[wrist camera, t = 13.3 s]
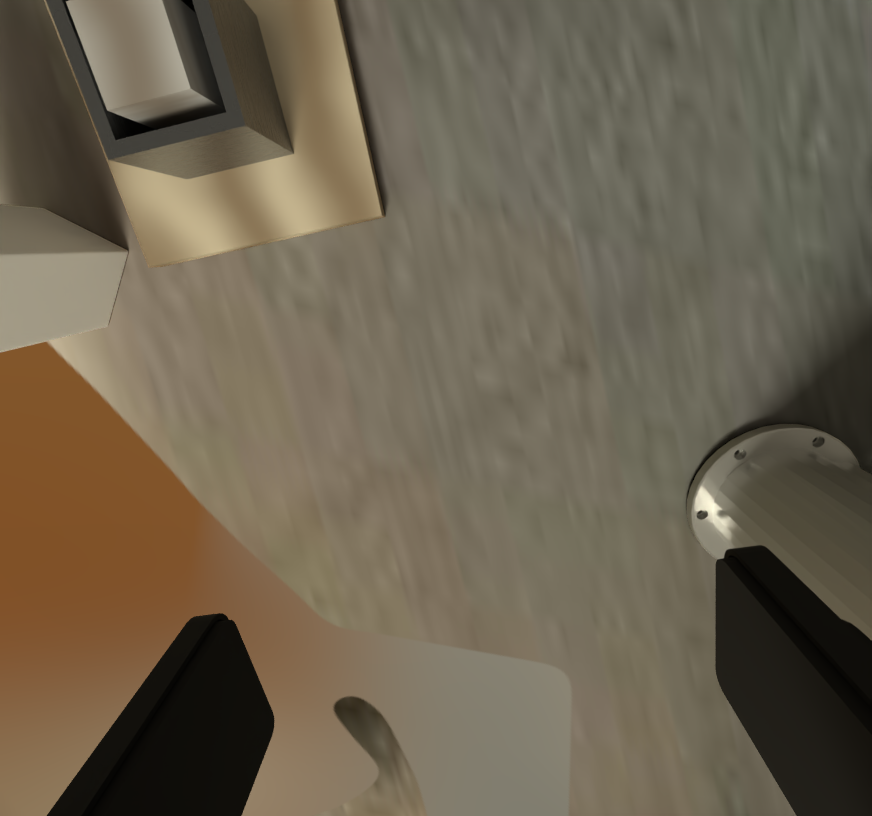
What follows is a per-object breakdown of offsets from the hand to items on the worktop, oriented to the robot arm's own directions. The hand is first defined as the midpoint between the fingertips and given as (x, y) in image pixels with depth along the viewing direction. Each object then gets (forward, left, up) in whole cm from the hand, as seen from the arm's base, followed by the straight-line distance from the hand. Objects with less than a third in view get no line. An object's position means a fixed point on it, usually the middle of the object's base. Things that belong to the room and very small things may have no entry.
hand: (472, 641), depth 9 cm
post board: (+11, -18, -26) cm, 33 cm away
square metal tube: (+11, -18, -24) cm, 32 cm away
